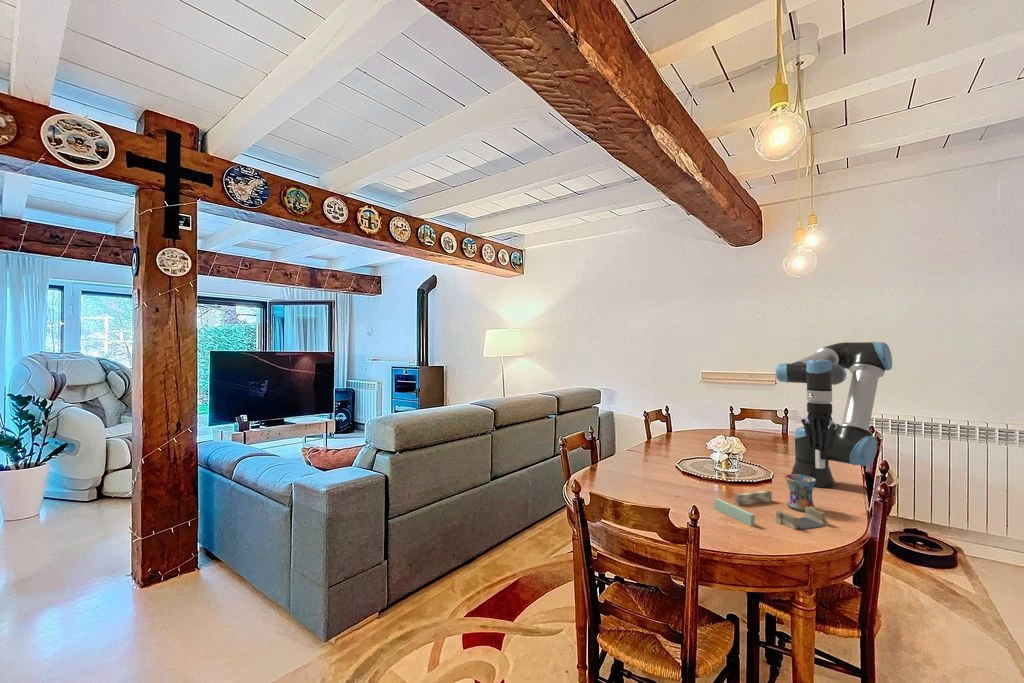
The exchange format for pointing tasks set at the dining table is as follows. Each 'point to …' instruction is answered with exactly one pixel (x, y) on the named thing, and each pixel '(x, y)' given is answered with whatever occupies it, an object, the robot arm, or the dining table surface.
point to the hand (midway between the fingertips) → (820, 467)
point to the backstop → (735, 512)
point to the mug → (800, 491)
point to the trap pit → (808, 524)
